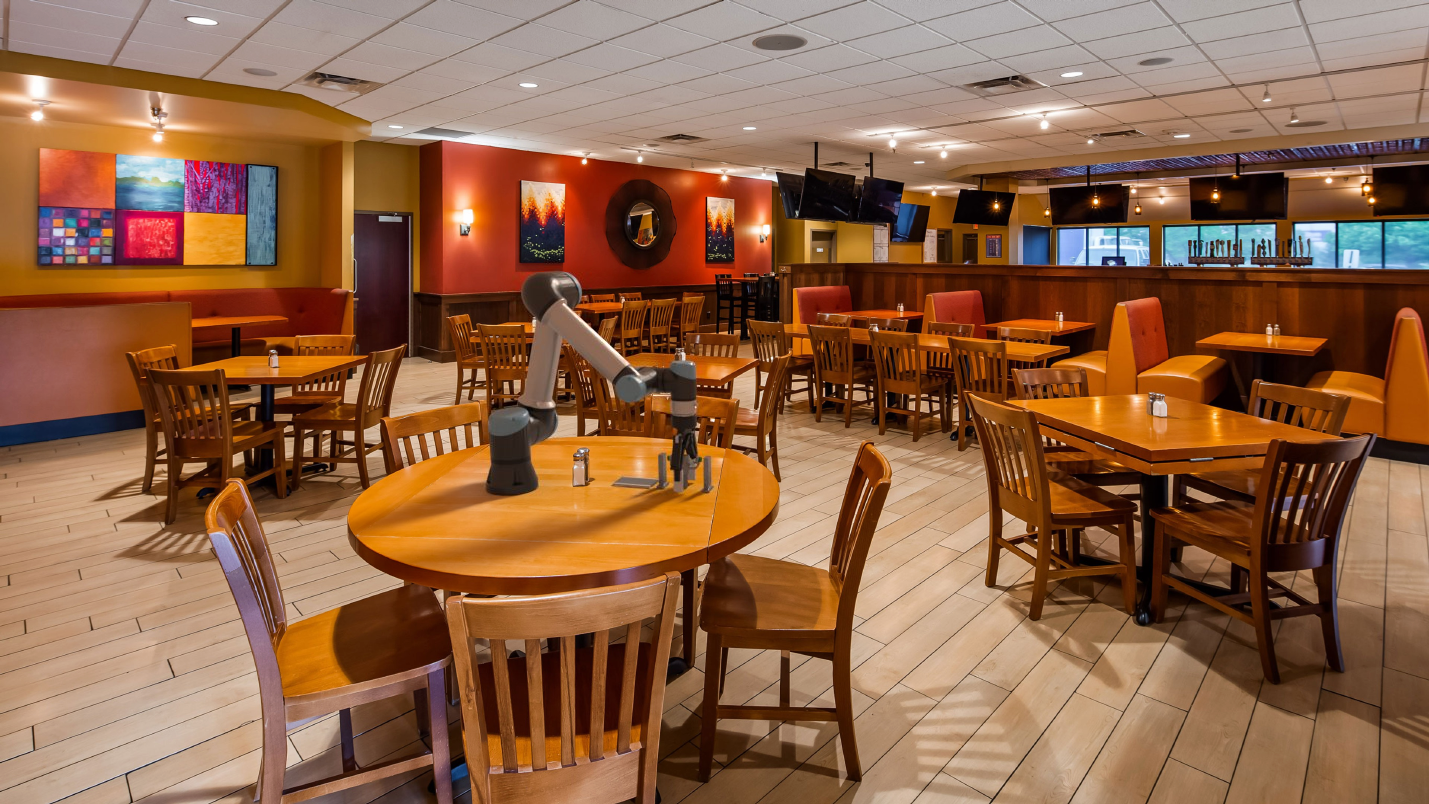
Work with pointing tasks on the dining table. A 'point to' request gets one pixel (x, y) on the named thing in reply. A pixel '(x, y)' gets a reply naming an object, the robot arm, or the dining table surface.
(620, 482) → the mat
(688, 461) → the mechanical component
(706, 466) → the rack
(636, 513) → the dining table surface
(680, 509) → the dining table surface
